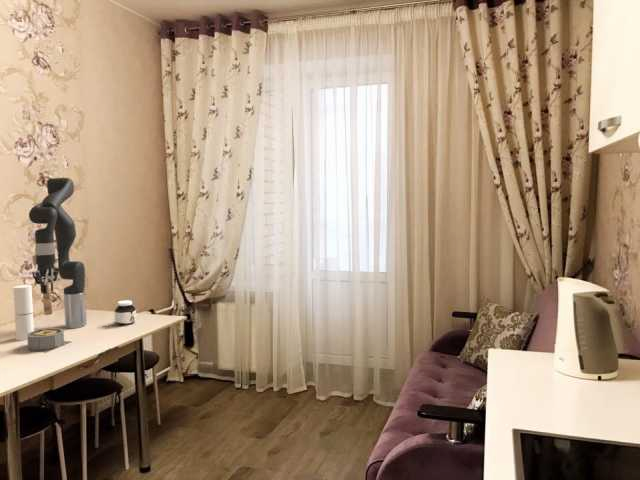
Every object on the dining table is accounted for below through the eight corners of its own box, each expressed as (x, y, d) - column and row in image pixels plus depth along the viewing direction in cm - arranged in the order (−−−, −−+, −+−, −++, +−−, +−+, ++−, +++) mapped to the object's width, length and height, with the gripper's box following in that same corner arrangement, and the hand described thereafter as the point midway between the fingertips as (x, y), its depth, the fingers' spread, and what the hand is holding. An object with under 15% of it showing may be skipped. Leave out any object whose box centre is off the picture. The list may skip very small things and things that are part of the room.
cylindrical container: (26, 342, 225) (23, 288, 223) (12, 341, 227) (9, 287, 225) (37, 338, 232) (35, 285, 230) (24, 337, 234) (21, 284, 232)
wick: (47, 313, 220) (46, 281, 219) (53, 313, 219) (52, 282, 218) (42, 314, 217) (41, 283, 216) (48, 315, 216) (47, 283, 215)
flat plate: (45, 341, 227) (45, 339, 227) (72, 343, 224) (72, 341, 224) (18, 352, 212) (17, 350, 212) (46, 354, 209) (46, 352, 209)
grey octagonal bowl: (44, 340, 226) (43, 327, 226) (70, 342, 223) (69, 329, 223) (20, 349, 213) (19, 335, 212) (47, 351, 210) (47, 337, 209)
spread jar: (122, 327, 252) (121, 304, 251) (108, 324, 258) (107, 302, 257) (141, 322, 262) (141, 300, 261) (127, 319, 268) (127, 297, 267)
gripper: (49, 251, 223) (51, 289, 225) (25, 254, 210) (27, 295, 211) (64, 251, 222) (65, 290, 223) (40, 255, 208) (42, 296, 210)
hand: (47, 292), depth 217 cm, fingers closed on wick, 3 cm apart
